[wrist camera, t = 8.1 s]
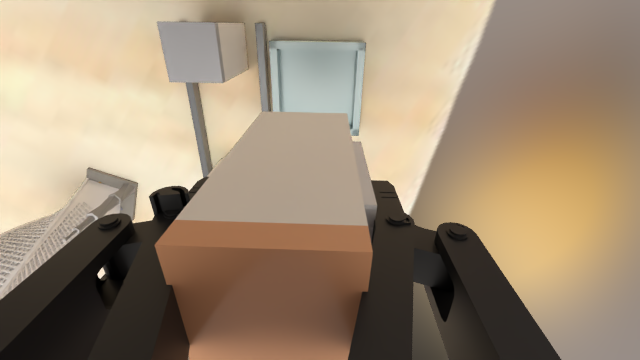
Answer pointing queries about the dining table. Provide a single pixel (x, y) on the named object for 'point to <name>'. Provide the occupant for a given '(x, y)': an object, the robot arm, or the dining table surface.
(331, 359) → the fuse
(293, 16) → the dining table surface
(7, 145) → the dining table surface
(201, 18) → the dining table surface
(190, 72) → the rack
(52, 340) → the robot arm
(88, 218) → the skyscraper
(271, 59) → the tray
